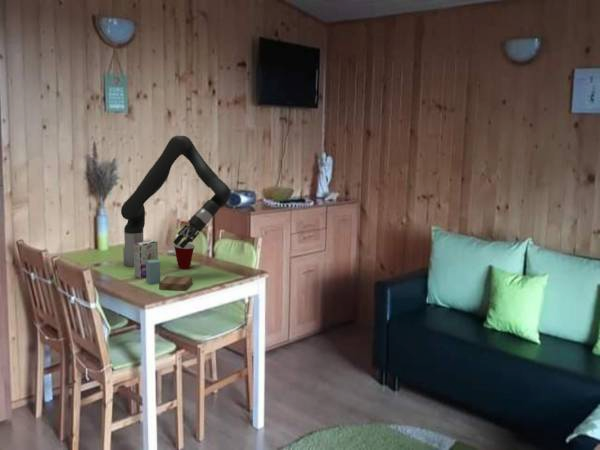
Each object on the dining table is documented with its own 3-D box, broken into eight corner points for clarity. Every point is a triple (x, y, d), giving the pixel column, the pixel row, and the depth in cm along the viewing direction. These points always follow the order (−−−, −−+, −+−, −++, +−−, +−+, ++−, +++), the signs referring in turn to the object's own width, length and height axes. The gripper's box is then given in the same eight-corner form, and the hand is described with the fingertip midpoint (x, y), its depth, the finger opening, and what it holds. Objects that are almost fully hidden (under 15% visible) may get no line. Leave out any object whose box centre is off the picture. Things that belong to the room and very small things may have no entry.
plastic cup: (190, 271, 299) (190, 247, 297) (170, 269, 302) (170, 245, 299) (198, 265, 310) (198, 243, 308) (178, 264, 312) (178, 241, 310)
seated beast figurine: (179, 251, 340) (178, 231, 338) (189, 254, 335) (189, 233, 333) (166, 254, 333) (166, 233, 331) (177, 257, 328) (176, 235, 326)
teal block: (149, 284, 274) (149, 262, 273) (146, 281, 279) (146, 260, 277) (160, 283, 277) (160, 261, 275) (157, 280, 281) (156, 259, 279)
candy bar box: (151, 272, 295) (150, 239, 292) (158, 273, 292) (158, 240, 289) (133, 277, 286) (133, 243, 283) (141, 278, 283) (140, 244, 280)
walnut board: (159, 289, 267) (159, 283, 266) (166, 282, 278) (166, 276, 278) (185, 290, 266) (185, 284, 265) (192, 283, 278) (192, 277, 277)
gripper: (189, 212, 289) (167, 237, 285) (201, 216, 277) (177, 243, 273) (200, 222, 293) (178, 247, 289) (211, 226, 281) (188, 253, 277)
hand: (177, 245), depth 281 cm, fingers open, 8 cm apart
